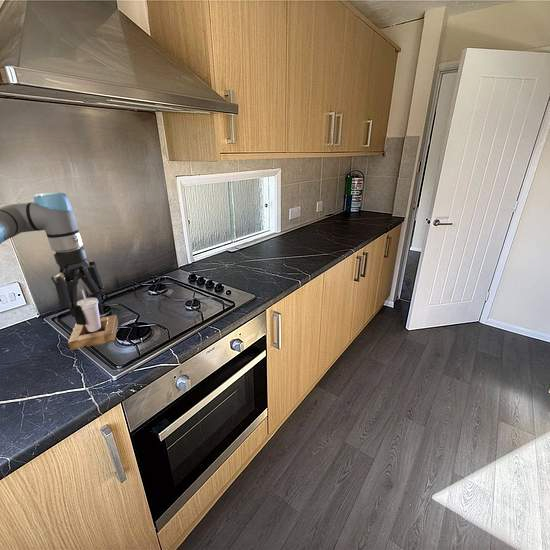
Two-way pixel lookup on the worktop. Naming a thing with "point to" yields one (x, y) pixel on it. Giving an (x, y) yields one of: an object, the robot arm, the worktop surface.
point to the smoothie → (90, 312)
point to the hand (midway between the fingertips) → (90, 318)
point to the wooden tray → (94, 334)
